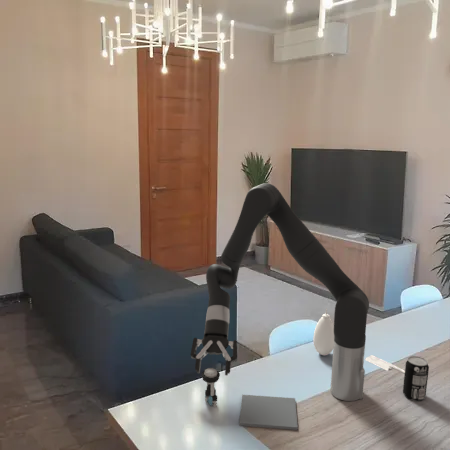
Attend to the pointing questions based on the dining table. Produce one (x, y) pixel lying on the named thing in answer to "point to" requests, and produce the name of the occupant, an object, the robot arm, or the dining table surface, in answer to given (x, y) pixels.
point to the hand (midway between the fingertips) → (212, 373)
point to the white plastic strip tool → (383, 363)
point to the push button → (210, 385)
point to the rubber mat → (268, 412)
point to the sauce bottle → (324, 335)
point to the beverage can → (415, 378)
